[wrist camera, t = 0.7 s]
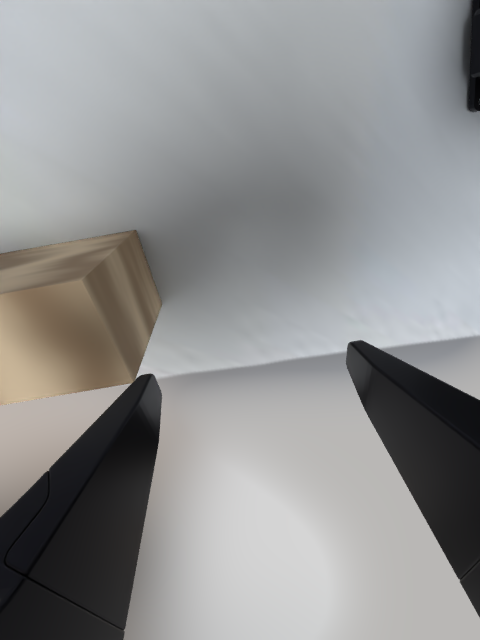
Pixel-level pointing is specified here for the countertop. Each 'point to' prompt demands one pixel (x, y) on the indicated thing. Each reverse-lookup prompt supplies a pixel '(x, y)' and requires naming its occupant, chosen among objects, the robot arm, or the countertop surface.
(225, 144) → the countertop surface
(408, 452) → the robot arm
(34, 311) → the bar
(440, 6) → the countertop surface
